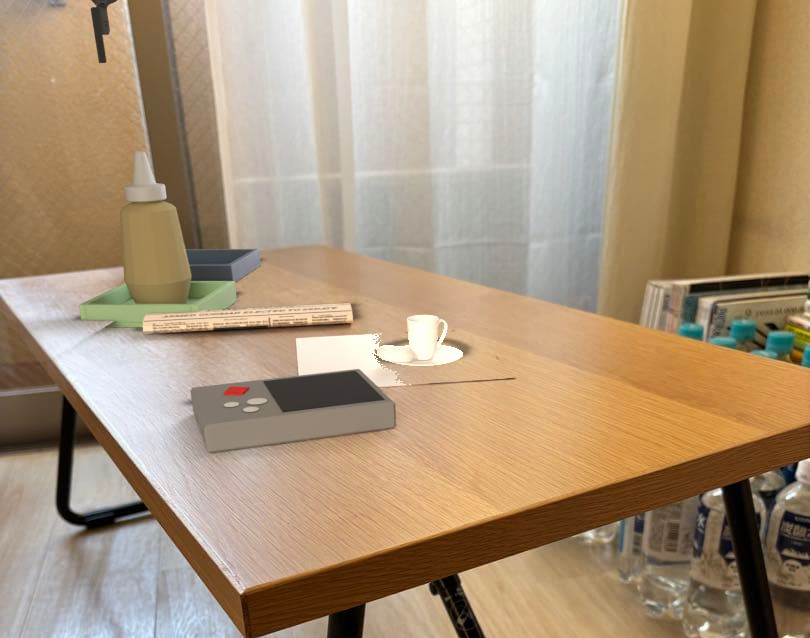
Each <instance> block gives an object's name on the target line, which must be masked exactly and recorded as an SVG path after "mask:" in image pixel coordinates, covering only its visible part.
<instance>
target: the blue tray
mask: <svg viewBox="0 0 810 638" xmlns="http://www.w3.org/2000/svg"><path fill="white" fill-rule="evenodd" d="M185 249H186V253H187V258H188V262H189V267H190V271H191V275H192V277H191V281H235V284H236V283H237V282H238V281H240V280H242V279H243V278H245V277H247V276H248V275H250V274H251V273H252V272H254V271H255V270H256V269H258V268H260V267H262V266H261V265H262V263H261V255H260V253H261V252H260V249H259V248H192V249H191V248H185Z"/></svg>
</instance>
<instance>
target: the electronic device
mask: <svg viewBox="0 0 810 638" xmlns="http://www.w3.org/2000/svg"><path fill="white" fill-rule="evenodd" d="M190 399H191V405H192V412H193V414H194V418H195V420H196V423H197V426H198V428H199V431H200V435H201V437H202V439H203V443H204V446H205V448H206V450H207V452H209V453H210V454H212V453H221V452H228V451H237V450H242V449H251V448H259V447H266V446H273V445H281V444H288V443H295V442H297V443H298V442H304V441H311V440H318V439H325V438H332V437H334V438H335V437H341V436H349V435H355V434H356V435H357V434H363V433H371V432H378V431H387V430H393V429H395V428H396V427H397V409H396V402H394V401H393V400H392V399H391V398H390V397H389V396H388V395H387V394H386V393H385V392H384V391H383V390H382V389H381V387H378V386H376V385H375V384H374V383H373V382H372V381H371V380H370V379H369V378H368V377H367V376H366V375H365V374H364V373H363V372H362V371H361V370H360V369H353V370H344V371H335V372H326V373H318V374H309V375H300V376H299V375H291V376H285V377H284V376H283V377H273V378H266V379H257V380H248V381H240V382H231V383H221V384H213V385H202V386H196V387H195V386H194V387H192V388H191V389H190Z"/></svg>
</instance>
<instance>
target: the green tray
mask: <svg viewBox="0 0 810 638" xmlns="http://www.w3.org/2000/svg"><path fill="white" fill-rule="evenodd" d="M237 301H238V298H237V289H236V283H235V281H191V282H190V288H189V293H188V299H187V304H135V302H134V300H133V298H132V296H131V294H130V292H129V290H128V288H127V286H126V284H125V282H123V283H122V284H119V285H117V286H115V287H113V288H110V289H109V290H107V291H105V292H103V293H101V294H98V295H96V296H94V297H92V298H91V299H88V300H86V301H84V302H82V303H80V304H78V311H79V316H80V320H81V321H113V322H111V323H109V324H107V325H105V326H104V328H143V320H144V317H145V315H146V314H147V313H167V312H199V311H205V310H224V309H229V307H231V306H232V305H234V304H235V303H236V302H237Z"/></svg>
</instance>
